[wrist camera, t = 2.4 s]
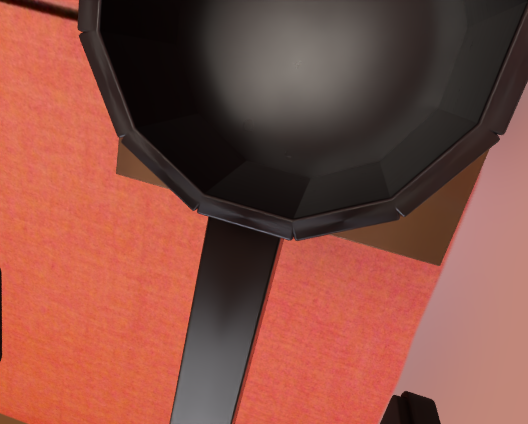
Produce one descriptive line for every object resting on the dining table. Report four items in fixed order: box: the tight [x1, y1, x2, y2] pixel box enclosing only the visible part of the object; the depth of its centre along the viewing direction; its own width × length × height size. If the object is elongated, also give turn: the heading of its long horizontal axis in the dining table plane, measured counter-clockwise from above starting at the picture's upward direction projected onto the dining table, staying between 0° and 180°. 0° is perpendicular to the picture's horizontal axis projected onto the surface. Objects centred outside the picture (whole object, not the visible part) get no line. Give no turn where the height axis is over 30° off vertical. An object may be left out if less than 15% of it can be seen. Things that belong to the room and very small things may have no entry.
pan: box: [78, 0, 528, 424], centre depth 13 cm, size 20×10×5 cm, turn 167°
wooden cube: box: [116, 138, 489, 266], centre depth 20 cm, size 13×13×14 cm
